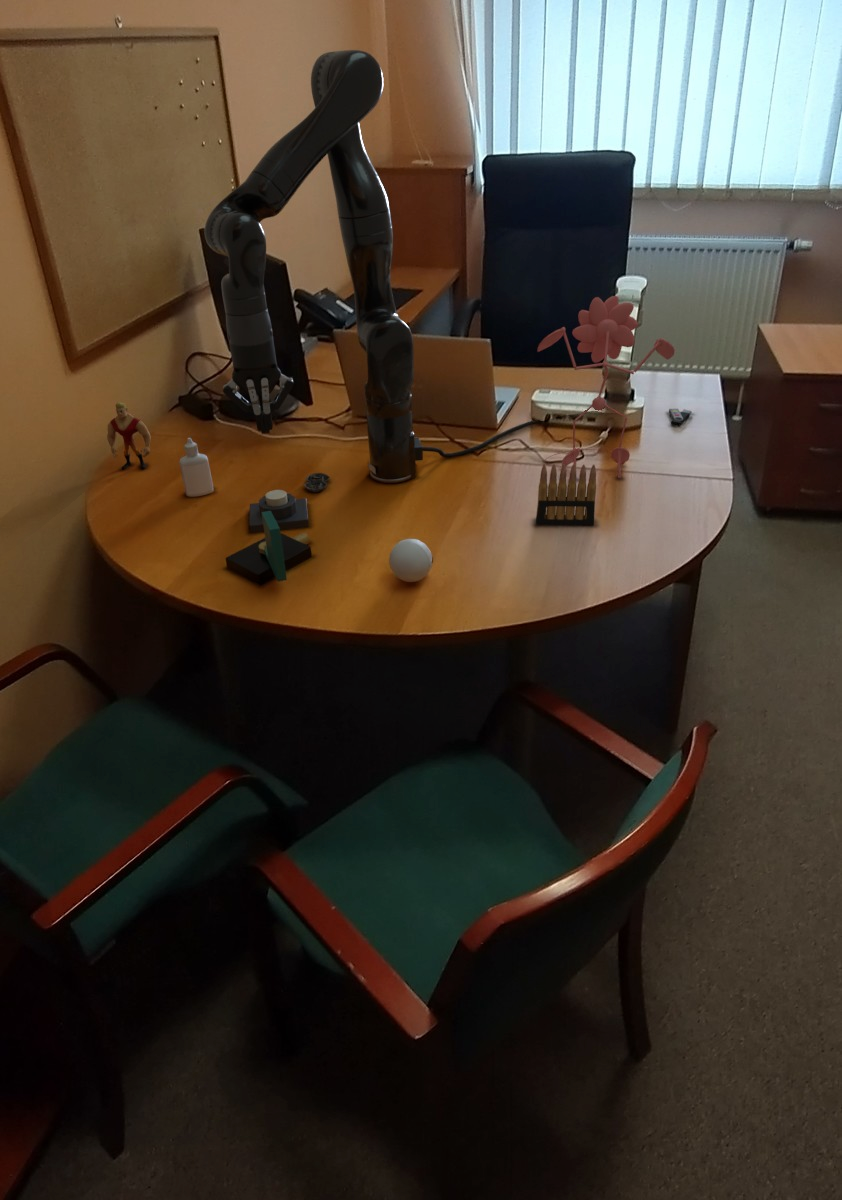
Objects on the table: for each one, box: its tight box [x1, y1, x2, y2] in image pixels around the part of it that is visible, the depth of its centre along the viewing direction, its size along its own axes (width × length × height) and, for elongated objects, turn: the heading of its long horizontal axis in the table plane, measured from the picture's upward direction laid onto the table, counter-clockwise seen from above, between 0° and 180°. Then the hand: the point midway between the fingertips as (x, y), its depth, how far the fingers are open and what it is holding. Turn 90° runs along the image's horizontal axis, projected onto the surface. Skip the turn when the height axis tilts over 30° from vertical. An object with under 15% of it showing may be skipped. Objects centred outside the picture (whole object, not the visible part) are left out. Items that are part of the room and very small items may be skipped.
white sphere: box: [388, 538, 434, 583], centre depth 143 cm, size 10×7×7 cm
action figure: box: [106, 401, 152, 470], centre depth 181 cm, size 10×4×15 cm, turn 88°
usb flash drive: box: [668, 408, 693, 427], centre depth 198 cm, size 9×5×1 cm, turn 147°
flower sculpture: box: [536, 295, 676, 479], centre depth 169 cm, size 15×26×35 cm, turn 90°
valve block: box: [225, 532, 313, 586], centre depth 150 cm, size 15×9×2 cm, turn 139°
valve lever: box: [259, 511, 288, 583], centre depth 142 cm, size 12×3×10 cm, turn 21°
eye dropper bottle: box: [179, 437, 215, 498], centre depth 170 cm, size 4×6×12 cm
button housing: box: [248, 492, 310, 534], centre depth 162 cm, size 11×9×4 cm
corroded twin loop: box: [303, 472, 330, 493], centre depth 174 cm, size 5×8×1 cm, turn 0°
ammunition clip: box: [535, 463, 597, 527], centre depth 155 cm, size 11×2×12 cm, turn 86°
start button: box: [265, 489, 288, 507], centre depth 160 cm, size 4×4×2 cm
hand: (265, 431), depth 154 cm, fingers closed
